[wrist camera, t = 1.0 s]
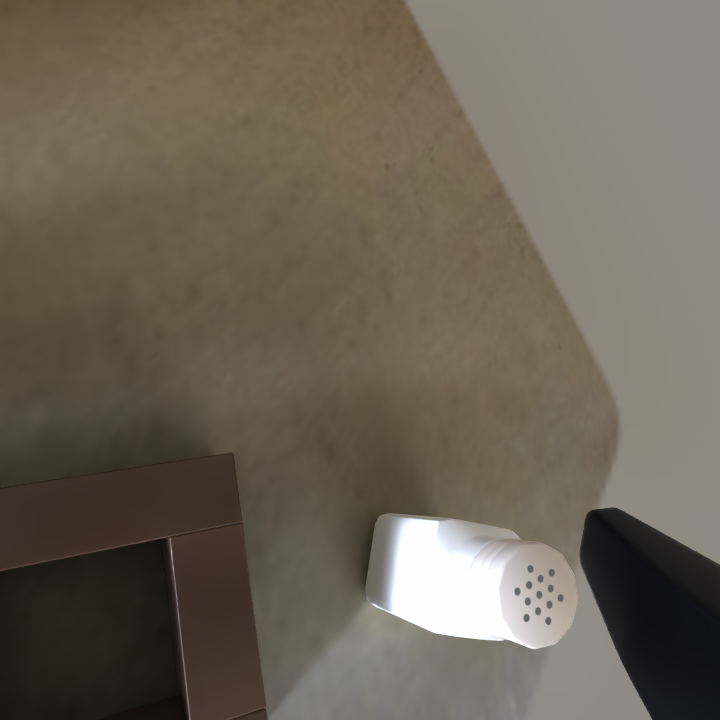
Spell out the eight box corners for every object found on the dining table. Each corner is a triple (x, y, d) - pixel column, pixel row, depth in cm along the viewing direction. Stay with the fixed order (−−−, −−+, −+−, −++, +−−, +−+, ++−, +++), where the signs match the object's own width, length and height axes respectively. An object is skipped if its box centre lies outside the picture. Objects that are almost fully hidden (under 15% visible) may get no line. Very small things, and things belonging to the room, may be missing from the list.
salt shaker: (357, 602, 26) (479, 658, 17) (371, 510, 27) (492, 519, 19) (436, 612, 27) (585, 669, 19) (446, 524, 28) (592, 539, 20)
